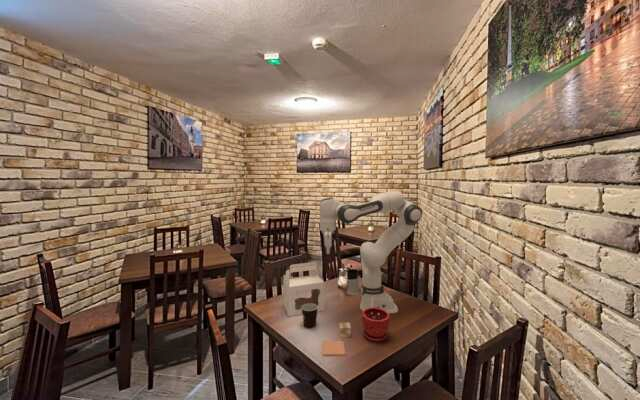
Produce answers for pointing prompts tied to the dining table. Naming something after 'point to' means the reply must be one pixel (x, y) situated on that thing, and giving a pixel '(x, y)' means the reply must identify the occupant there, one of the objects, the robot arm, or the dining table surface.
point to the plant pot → (375, 324)
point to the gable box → (303, 288)
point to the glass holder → (352, 282)
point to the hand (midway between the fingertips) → (327, 251)
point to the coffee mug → (309, 315)
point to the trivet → (333, 348)
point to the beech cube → (345, 330)
